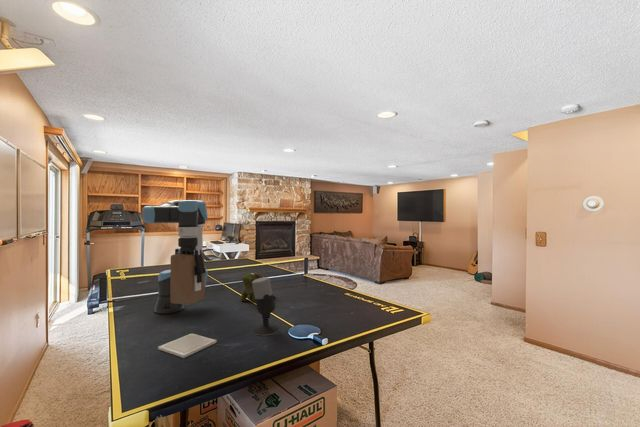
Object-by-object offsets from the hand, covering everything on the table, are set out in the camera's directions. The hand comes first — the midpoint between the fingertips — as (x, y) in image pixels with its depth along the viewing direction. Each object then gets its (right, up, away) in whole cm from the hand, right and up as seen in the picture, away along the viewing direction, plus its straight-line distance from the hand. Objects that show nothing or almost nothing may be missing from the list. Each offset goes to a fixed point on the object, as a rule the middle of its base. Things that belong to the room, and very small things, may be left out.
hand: (188, 288), depth 125 cm
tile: (0, -24, 0) cm, 24 cm away
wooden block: (0, -5, 0) cm, 5 cm away
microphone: (+30, -24, +17) cm, 42 cm away
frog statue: (+11, -25, +70) cm, 75 cm away
